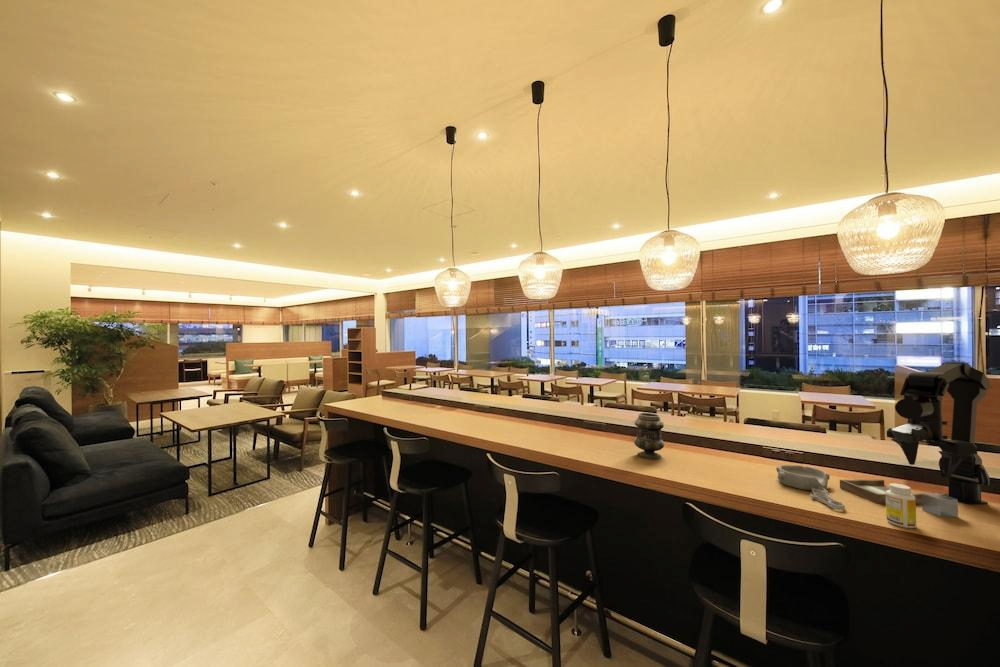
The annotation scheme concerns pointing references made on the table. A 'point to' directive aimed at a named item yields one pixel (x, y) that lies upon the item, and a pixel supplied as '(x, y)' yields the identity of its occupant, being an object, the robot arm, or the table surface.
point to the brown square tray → (871, 490)
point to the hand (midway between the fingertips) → (929, 469)
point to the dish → (802, 477)
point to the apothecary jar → (649, 435)
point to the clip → (939, 505)
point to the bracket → (826, 498)
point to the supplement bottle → (900, 506)
